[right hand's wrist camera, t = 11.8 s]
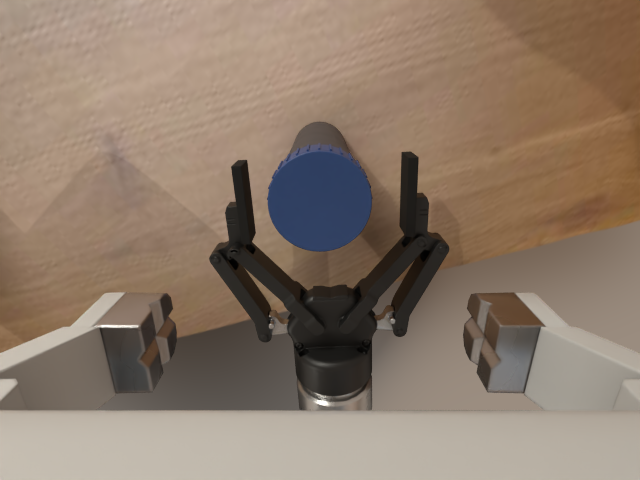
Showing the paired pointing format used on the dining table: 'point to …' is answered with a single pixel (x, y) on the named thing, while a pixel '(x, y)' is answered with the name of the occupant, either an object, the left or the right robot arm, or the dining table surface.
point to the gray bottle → (319, 136)
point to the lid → (319, 198)
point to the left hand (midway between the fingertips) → (324, 158)
